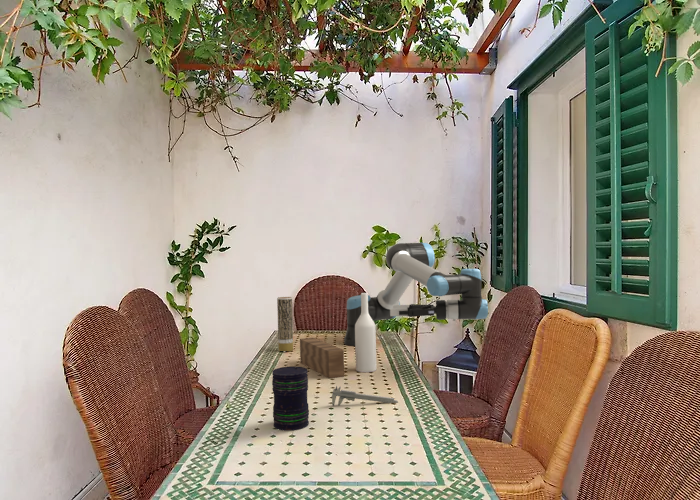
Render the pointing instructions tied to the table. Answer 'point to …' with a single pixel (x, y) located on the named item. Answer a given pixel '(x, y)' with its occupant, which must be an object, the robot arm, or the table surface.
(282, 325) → the paper tube
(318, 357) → the wooden block
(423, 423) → the table surface
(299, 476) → the table surface
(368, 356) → the bottle
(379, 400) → the caliper
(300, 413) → the storage jar
